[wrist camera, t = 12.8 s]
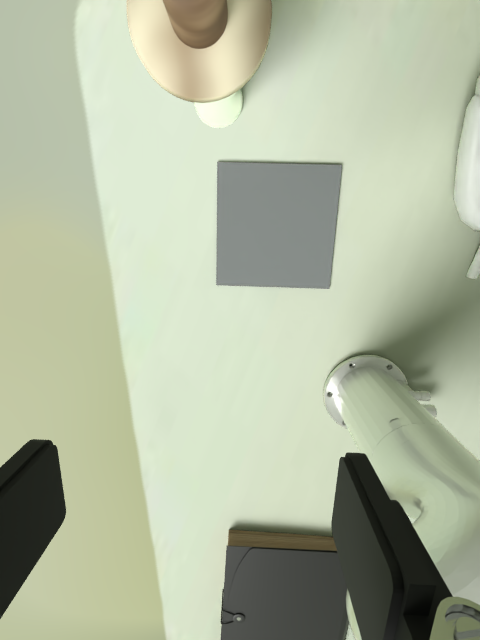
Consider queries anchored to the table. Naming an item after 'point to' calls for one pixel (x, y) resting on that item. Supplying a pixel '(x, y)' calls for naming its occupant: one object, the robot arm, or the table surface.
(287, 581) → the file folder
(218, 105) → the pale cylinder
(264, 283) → the mat
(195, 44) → the lid
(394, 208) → the table surface
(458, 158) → the lung model
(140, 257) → the table surface
